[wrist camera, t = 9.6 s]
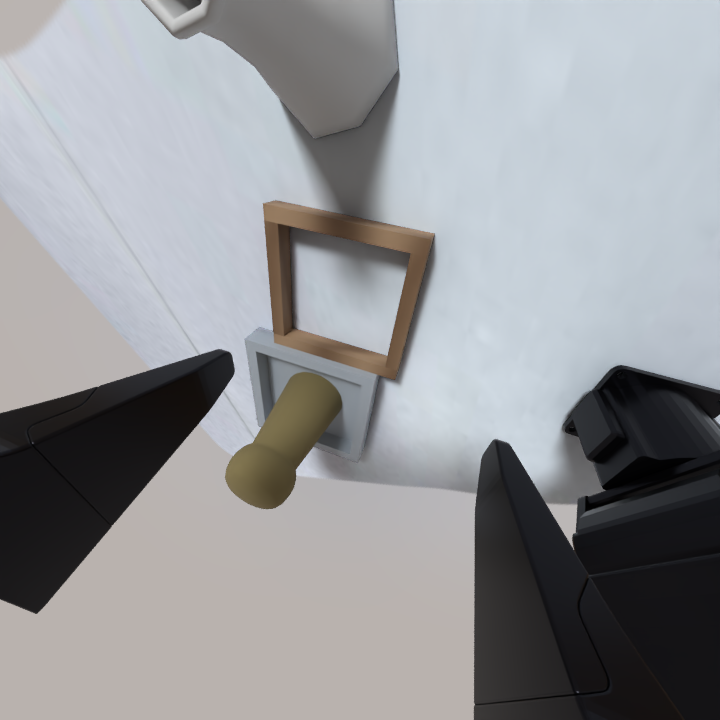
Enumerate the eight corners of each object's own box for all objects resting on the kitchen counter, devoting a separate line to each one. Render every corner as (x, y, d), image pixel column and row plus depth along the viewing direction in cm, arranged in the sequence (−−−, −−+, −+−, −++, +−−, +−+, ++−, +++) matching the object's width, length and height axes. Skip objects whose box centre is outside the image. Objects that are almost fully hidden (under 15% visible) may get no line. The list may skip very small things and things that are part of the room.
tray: (381, 364, 25) (374, 379, 23) (364, 446, 32) (357, 463, 31) (259, 327, 27) (244, 338, 25) (269, 412, 34) (258, 426, 33)
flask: (354, -140, 11) (88, -752, 4) (423, 78, 14) (357, -3, 6) (239, 15, 15) (-13, -124, 7) (313, 164, 18) (187, 176, 10)
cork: (323, 425, 31) (266, 527, 23) (278, 391, 31) (202, 484, 22) (353, 400, 28) (298, 511, 19) (303, 361, 27) (222, 459, 18)
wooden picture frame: (434, 233, 18) (431, 239, 17) (398, 369, 25) (394, 380, 23) (275, 200, 20) (262, 203, 19) (283, 334, 27) (274, 342, 25)
